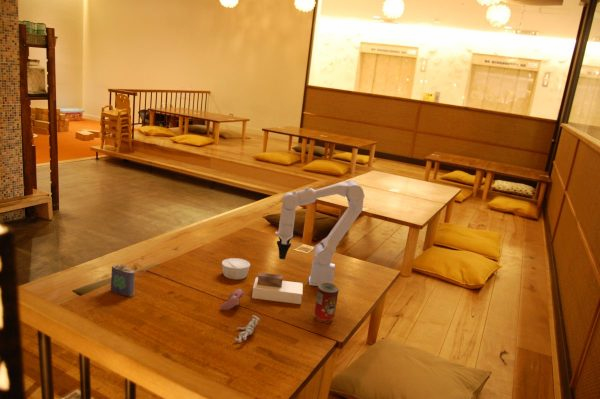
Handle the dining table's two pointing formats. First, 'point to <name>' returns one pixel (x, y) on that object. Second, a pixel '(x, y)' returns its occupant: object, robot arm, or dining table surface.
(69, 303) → the dining table surface
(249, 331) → the soldier figure
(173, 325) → the dining table surface
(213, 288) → the dining table surface
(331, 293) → the soda can
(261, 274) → the rail end
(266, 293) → the white rectangular box
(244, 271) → the ramekin
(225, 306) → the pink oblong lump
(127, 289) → the flask
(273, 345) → the dining table surface
